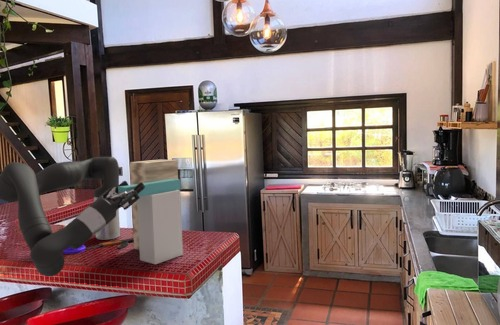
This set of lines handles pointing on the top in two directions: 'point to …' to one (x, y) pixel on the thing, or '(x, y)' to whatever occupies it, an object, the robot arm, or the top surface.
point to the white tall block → (160, 226)
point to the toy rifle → (123, 244)
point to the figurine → (74, 250)
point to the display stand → (149, 173)
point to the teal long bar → (154, 187)
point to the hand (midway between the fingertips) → (134, 183)
